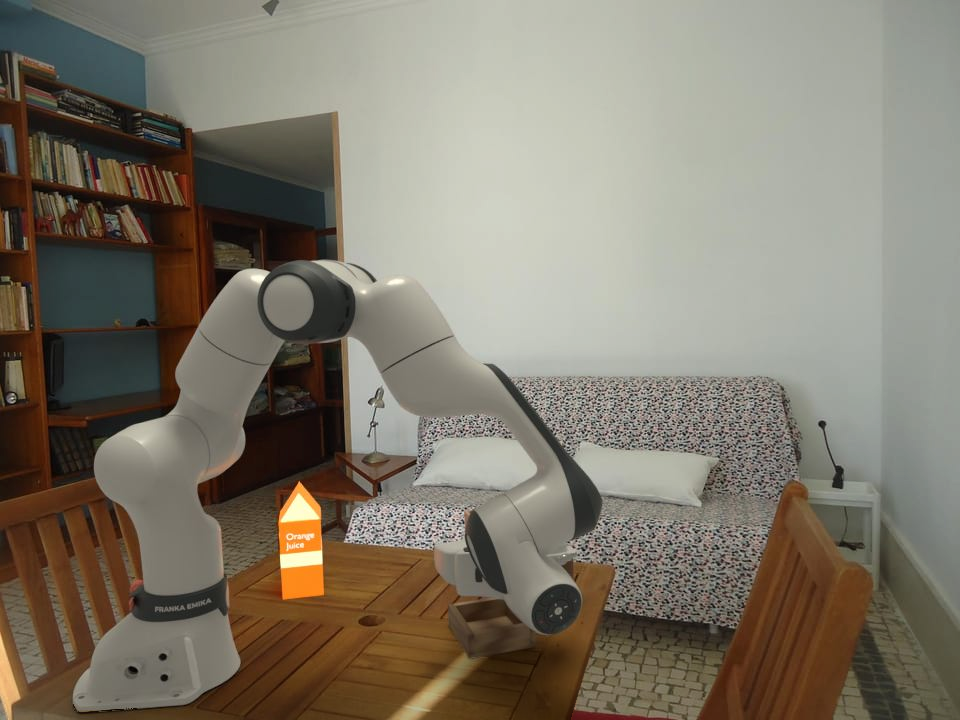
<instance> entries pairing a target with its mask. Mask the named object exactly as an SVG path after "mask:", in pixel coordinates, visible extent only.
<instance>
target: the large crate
mask: <svg viewBox="0 0 960 720" xmlns="http://www.w3.org/2000/svg"><path fill="white" fill-rule="evenodd" d="M447 610H448V612H447V615H448V627H449V629H450V630H451V632H452V633H453V635H454V637H455V638H456V641H457V642H458V644H459V645H460V647H461V648H462V650H463V652H464V653H465V655H466V656H467V658H468V660H470V659H474V658H481V657H486V656H493V655H498V654H503V653H508V652H514V651H519V650H525V649H530V648H535V647H536V648H537V636H536V635H537V632H535V631H533V630H532V629H530V628H529V627H528V626H526V625H525V624H524V623H523V622H522V621H521V620H519V619H518V618H517V617H516V615H515V614H514V613H513V612H512V611H511V610H510V609H509V607H508V606H507V604H506V602H505V601H504V600H502V599H495V598H490V597H486V598H485V597H484V598H481V599H474V600H468V601H460V602H454V603H448V604H447Z"/></svg>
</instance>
